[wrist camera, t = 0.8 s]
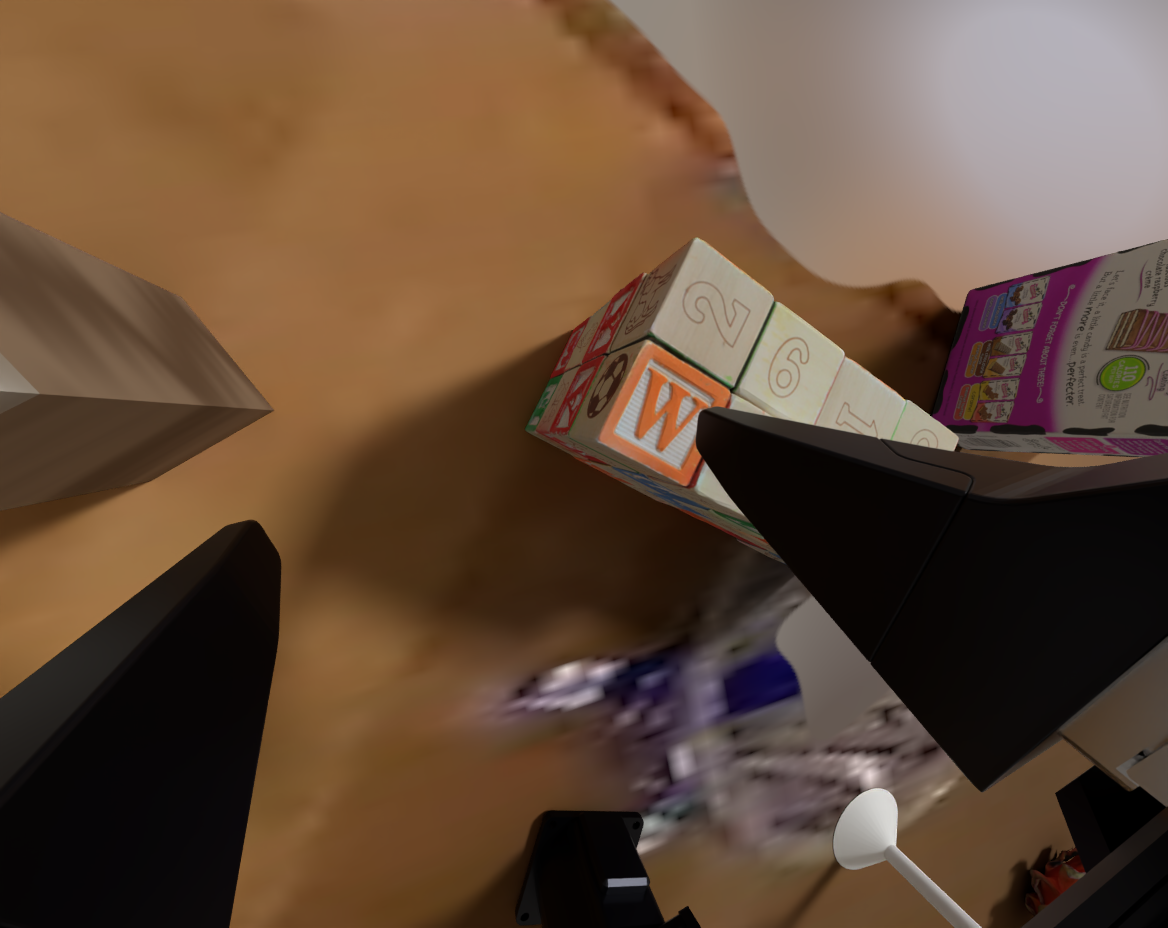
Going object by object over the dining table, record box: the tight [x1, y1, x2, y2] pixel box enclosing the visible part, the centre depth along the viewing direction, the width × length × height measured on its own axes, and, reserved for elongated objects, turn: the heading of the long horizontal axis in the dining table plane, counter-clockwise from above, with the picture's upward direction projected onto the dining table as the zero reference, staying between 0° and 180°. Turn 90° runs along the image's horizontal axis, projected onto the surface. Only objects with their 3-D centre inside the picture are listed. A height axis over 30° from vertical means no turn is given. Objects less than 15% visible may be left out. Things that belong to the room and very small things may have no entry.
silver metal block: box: [0, 212, 274, 511], centre depth 12 cm, size 6×6×13 cm
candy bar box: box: [932, 239, 1168, 457], centre depth 24 cm, size 11×5×16 cm, turn 163°
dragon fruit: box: [1025, 847, 1086, 916], centre depth 38 cm, size 8×8×12 cm
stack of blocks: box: [525, 238, 959, 565], centre depth 20 cm, size 21×6×12 cm, turn 63°
